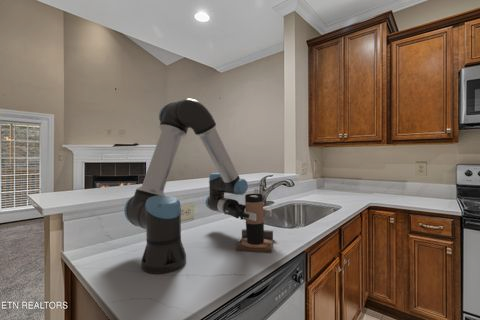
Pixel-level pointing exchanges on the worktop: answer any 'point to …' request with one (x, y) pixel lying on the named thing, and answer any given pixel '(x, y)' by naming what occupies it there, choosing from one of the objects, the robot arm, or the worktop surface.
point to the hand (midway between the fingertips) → (263, 215)
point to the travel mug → (256, 227)
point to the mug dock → (264, 247)
